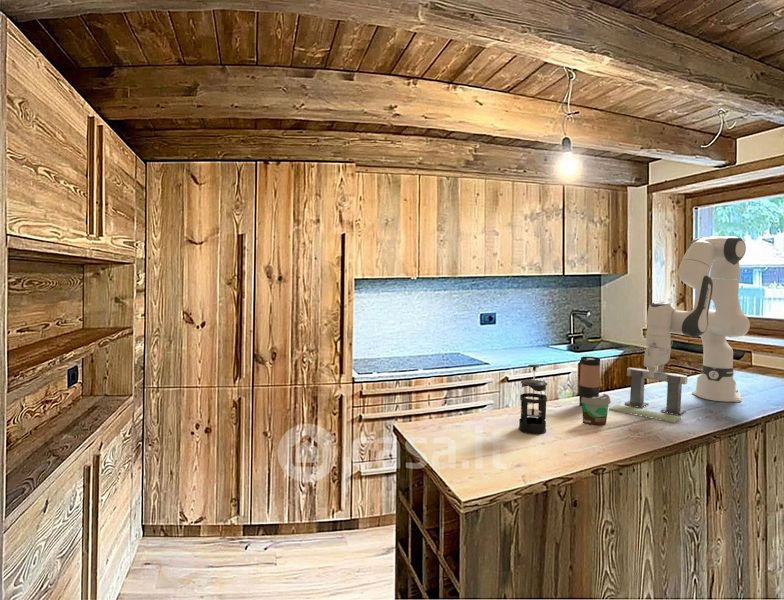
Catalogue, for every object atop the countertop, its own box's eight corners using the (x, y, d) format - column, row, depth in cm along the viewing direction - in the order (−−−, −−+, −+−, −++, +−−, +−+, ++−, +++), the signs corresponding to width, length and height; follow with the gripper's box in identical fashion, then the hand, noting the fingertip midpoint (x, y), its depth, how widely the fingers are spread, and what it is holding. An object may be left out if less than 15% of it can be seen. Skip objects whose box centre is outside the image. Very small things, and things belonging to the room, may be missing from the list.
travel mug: (595, 404, 216) (597, 356, 215) (601, 409, 209) (603, 360, 207) (576, 403, 217) (578, 356, 216) (581, 408, 209) (583, 359, 208)
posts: (631, 401, 221) (632, 367, 220) (685, 412, 206) (687, 374, 205) (624, 404, 216) (626, 369, 215) (680, 415, 201) (682, 377, 200)
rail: (629, 374, 219) (629, 367, 219) (687, 383, 204) (687, 375, 203) (626, 375, 217) (627, 368, 217) (684, 384, 201) (685, 376, 201)
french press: (533, 436, 174) (536, 369, 172) (511, 429, 181) (513, 364, 179) (554, 430, 181) (557, 365, 179) (532, 423, 188) (534, 361, 187)
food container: (593, 428, 183) (594, 400, 183) (579, 423, 189) (580, 396, 188) (617, 424, 189) (618, 397, 188) (603, 419, 194) (604, 393, 194)
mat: (616, 406, 214) (617, 404, 214) (680, 418, 197) (681, 417, 197) (609, 409, 208) (609, 408, 208) (674, 423, 191) (674, 421, 191)
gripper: (657, 345, 199) (655, 380, 200) (674, 340, 214) (672, 373, 215) (640, 343, 204) (638, 378, 205) (657, 338, 218) (656, 371, 219)
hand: (655, 375), depth 210 cm, fingers open, 8 cm apart
